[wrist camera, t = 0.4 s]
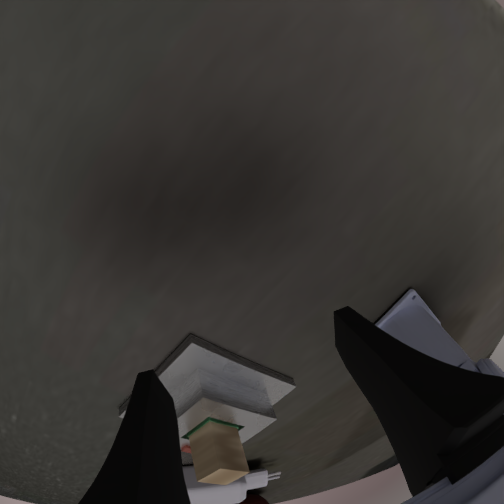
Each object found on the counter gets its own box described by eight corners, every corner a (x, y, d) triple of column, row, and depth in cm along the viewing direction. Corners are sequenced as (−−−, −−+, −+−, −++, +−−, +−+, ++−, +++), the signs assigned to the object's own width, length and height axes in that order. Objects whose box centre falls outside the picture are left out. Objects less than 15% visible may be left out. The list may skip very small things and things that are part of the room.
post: (231, 403, 27) (251, 471, 21) (210, 419, 28) (226, 485, 22) (203, 393, 26) (220, 467, 20) (183, 411, 26) (195, 481, 20)
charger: (272, 471, 42) (176, 486, 39) (278, 447, 38) (166, 464, 34) (280, 496, 38) (180, 512, 35) (289, 476, 34) (170, 495, 30)
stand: (293, 378, 30) (308, 413, 26) (216, 437, 32) (223, 469, 29) (190, 333, 24) (197, 376, 20) (118, 408, 26) (119, 446, 23)
